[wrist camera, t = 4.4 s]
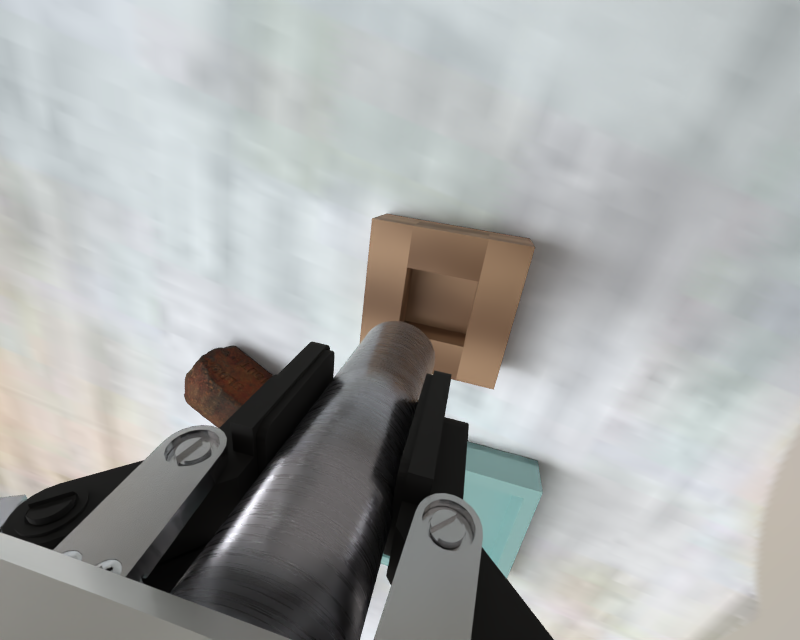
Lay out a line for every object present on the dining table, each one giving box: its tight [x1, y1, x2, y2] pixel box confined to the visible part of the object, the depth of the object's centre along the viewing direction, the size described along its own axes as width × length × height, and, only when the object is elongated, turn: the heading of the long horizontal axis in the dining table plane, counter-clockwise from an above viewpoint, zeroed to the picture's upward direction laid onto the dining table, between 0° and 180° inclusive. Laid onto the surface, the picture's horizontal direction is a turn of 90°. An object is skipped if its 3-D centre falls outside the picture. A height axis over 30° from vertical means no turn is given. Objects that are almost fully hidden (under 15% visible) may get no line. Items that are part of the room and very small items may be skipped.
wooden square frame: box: [360, 214, 535, 389], centre depth 22 cm, size 9×9×3 cm
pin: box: [170, 321, 435, 640], centre depth 10 cm, size 3×3×10 cm
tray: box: [381, 442, 543, 579], centre depth 29 cm, size 13×13×3 cm
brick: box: [184, 346, 273, 428], centre depth 29 cm, size 11×4×5 cm, turn 53°
